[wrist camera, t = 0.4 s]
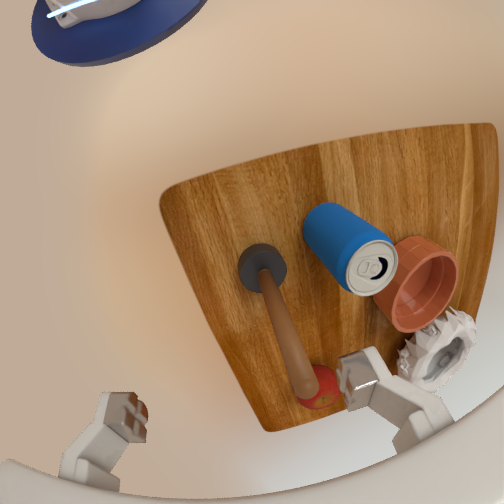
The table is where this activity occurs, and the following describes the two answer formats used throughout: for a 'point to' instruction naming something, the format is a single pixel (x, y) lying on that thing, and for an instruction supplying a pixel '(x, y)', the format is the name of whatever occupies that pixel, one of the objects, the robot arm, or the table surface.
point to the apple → (323, 389)
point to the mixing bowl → (418, 284)
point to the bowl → (437, 351)
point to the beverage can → (350, 249)
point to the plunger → (278, 313)
